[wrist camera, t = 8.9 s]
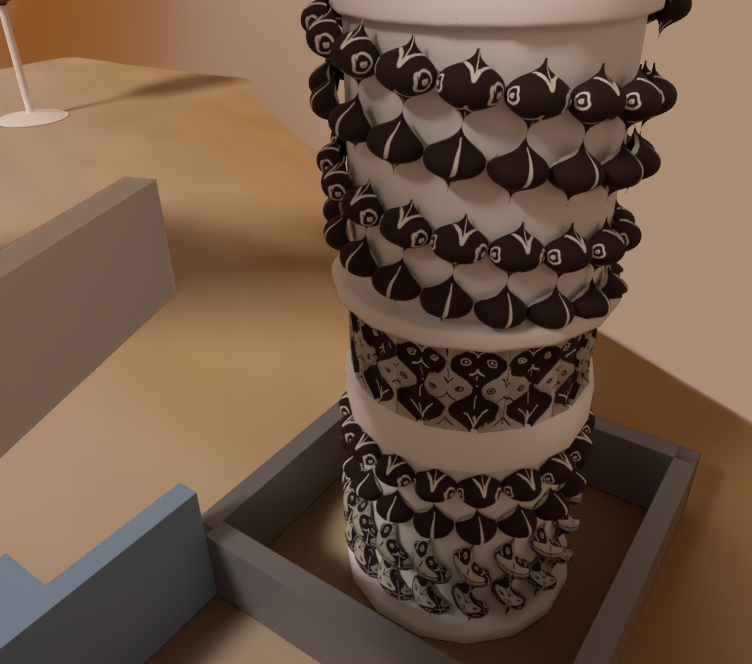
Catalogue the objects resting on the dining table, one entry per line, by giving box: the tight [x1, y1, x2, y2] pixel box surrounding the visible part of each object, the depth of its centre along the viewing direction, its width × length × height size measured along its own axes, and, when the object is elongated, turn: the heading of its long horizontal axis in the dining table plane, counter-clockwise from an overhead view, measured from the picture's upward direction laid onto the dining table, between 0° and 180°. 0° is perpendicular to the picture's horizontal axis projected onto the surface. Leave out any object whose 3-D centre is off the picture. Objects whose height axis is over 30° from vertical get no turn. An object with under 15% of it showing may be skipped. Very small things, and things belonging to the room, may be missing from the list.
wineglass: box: [0, 0, 68, 127], centre depth 77 cm, size 9×10×22 cm
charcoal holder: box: [201, 401, 701, 664], centre depth 26 cm, size 14×14×3 cm
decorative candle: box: [301, 0, 692, 645], centre depth 20 cm, size 9×9×25 cm
